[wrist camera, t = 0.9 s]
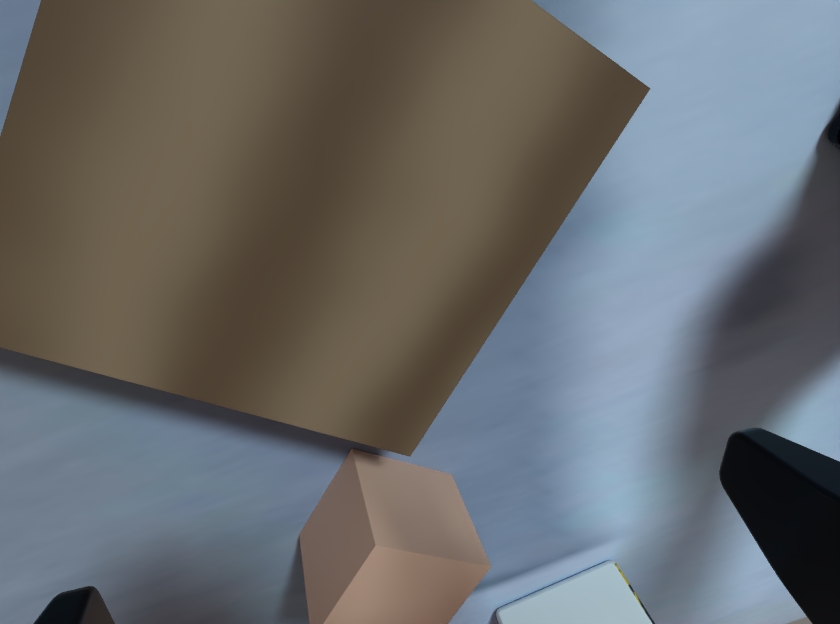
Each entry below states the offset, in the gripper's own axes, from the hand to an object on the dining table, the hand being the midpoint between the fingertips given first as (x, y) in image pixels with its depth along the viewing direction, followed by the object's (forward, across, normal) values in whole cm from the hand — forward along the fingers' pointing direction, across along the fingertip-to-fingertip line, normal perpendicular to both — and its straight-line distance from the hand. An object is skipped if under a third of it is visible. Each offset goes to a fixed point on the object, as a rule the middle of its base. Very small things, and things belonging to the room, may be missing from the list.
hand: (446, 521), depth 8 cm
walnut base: (+13, +1, -1) cm, 13 cm away
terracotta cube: (+13, 0, +14) cm, 19 cm away
